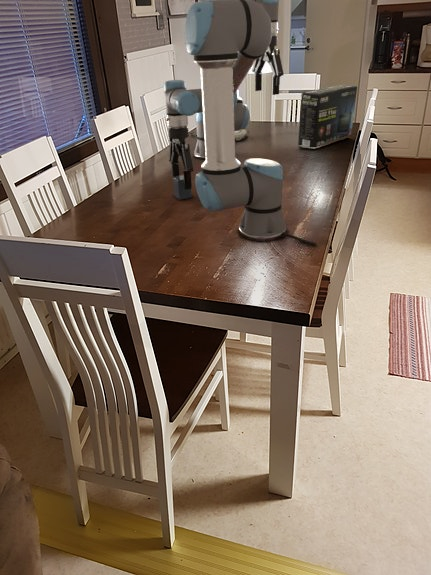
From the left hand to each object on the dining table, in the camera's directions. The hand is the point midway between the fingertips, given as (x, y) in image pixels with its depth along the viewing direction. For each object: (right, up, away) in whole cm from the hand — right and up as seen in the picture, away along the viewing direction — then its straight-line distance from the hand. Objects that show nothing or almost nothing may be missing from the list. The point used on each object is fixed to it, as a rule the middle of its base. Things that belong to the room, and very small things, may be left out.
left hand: (266, 92), depth 193 cm
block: (-35, -46, -12) cm, 59 cm away
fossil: (-12, +3, +69) cm, 70 cm away
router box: (+37, -5, +52) cm, 64 cm away
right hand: (-35, -42, -14) cm, 56 cm away
